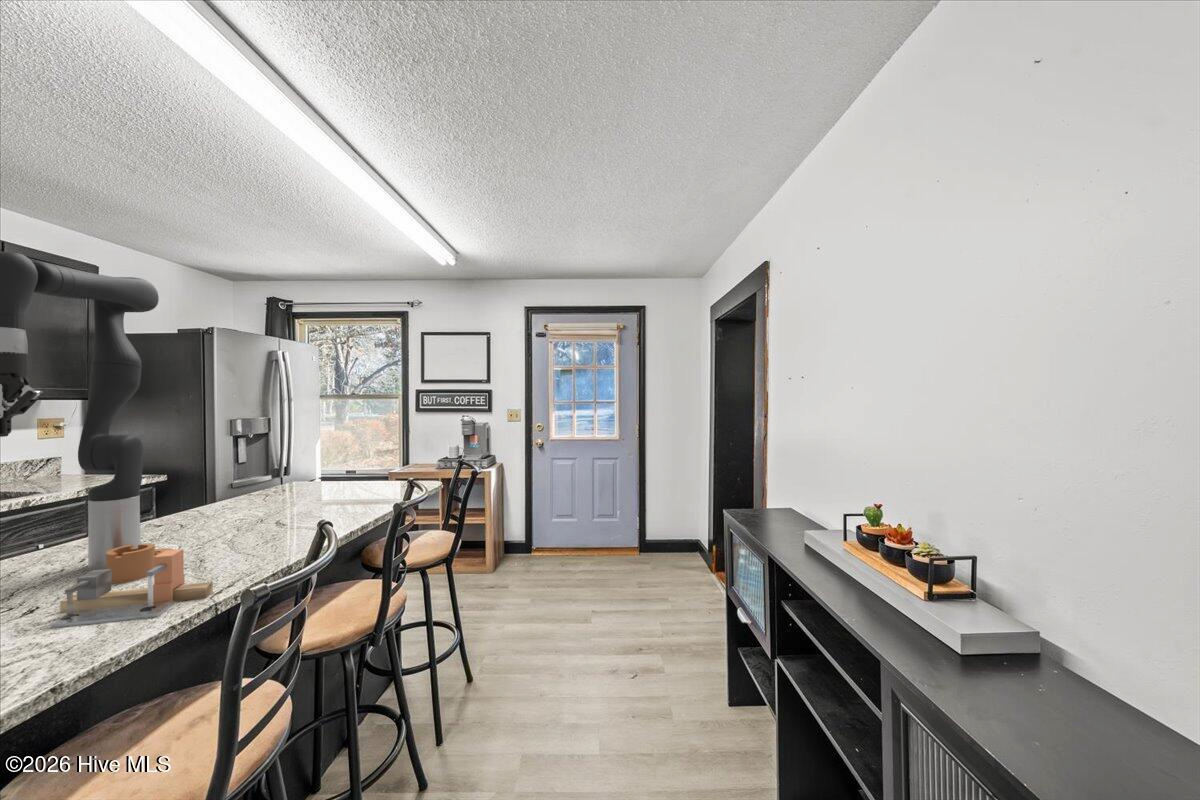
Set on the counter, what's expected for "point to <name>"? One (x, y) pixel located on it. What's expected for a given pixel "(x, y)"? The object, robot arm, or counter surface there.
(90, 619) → the strip
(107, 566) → the bracket
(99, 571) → the trammel bar
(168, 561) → the block
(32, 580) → the counter surface
